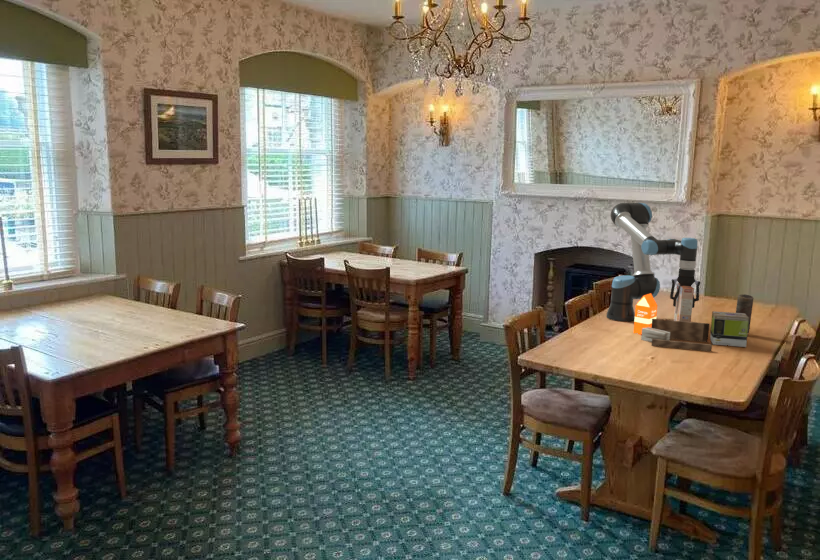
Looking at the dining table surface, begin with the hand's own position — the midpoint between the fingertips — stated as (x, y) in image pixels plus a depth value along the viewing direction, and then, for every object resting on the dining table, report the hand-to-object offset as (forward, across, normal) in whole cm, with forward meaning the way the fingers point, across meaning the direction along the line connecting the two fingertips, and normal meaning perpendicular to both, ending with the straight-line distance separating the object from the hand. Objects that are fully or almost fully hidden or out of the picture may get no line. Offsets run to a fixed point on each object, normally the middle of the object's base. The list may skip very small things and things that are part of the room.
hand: (682, 313), depth 342 cm
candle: (+10, +29, +8) cm, 32 cm away
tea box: (+10, +20, -15) cm, 27 cm away
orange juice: (+10, -18, -9) cm, 23 cm away
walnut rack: (+10, -2, -24) cm, 26 cm away
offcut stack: (+10, -13, -25) cm, 30 cm away
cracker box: (+7, 0, 0) cm, 7 cm away
